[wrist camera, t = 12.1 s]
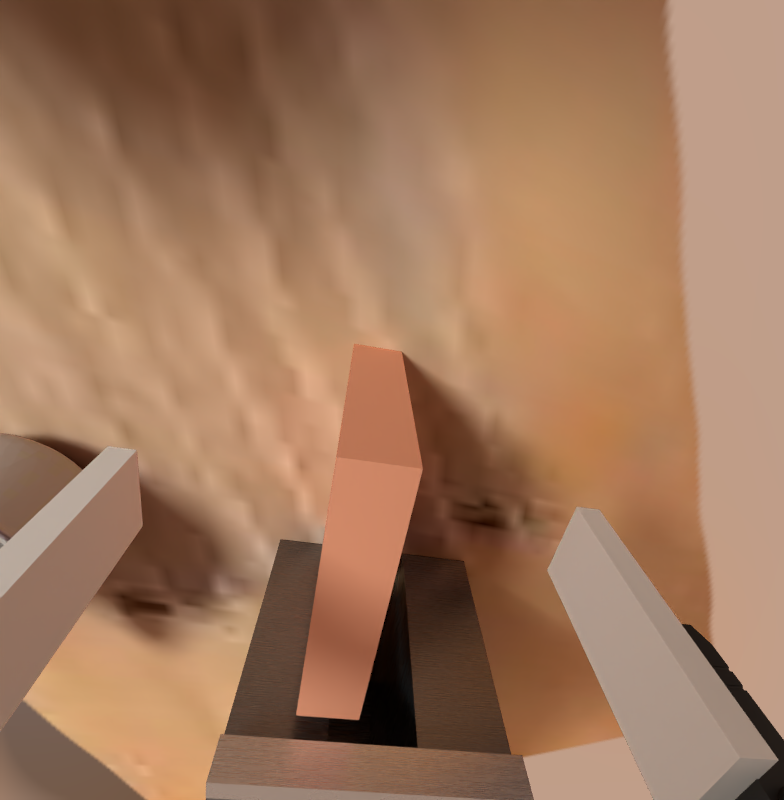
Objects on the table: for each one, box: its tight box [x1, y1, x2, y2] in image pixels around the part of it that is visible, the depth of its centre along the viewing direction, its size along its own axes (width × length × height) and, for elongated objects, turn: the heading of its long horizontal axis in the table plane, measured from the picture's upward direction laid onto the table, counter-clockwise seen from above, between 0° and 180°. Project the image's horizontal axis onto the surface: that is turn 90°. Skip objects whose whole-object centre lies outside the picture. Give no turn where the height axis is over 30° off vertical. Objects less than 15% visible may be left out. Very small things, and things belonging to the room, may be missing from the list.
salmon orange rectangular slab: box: [296, 344, 423, 720], centre depth 20 cm, size 12×2×11 cm, turn 169°
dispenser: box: [206, 540, 534, 800], centre depth 25 cm, size 17×12×13 cm
